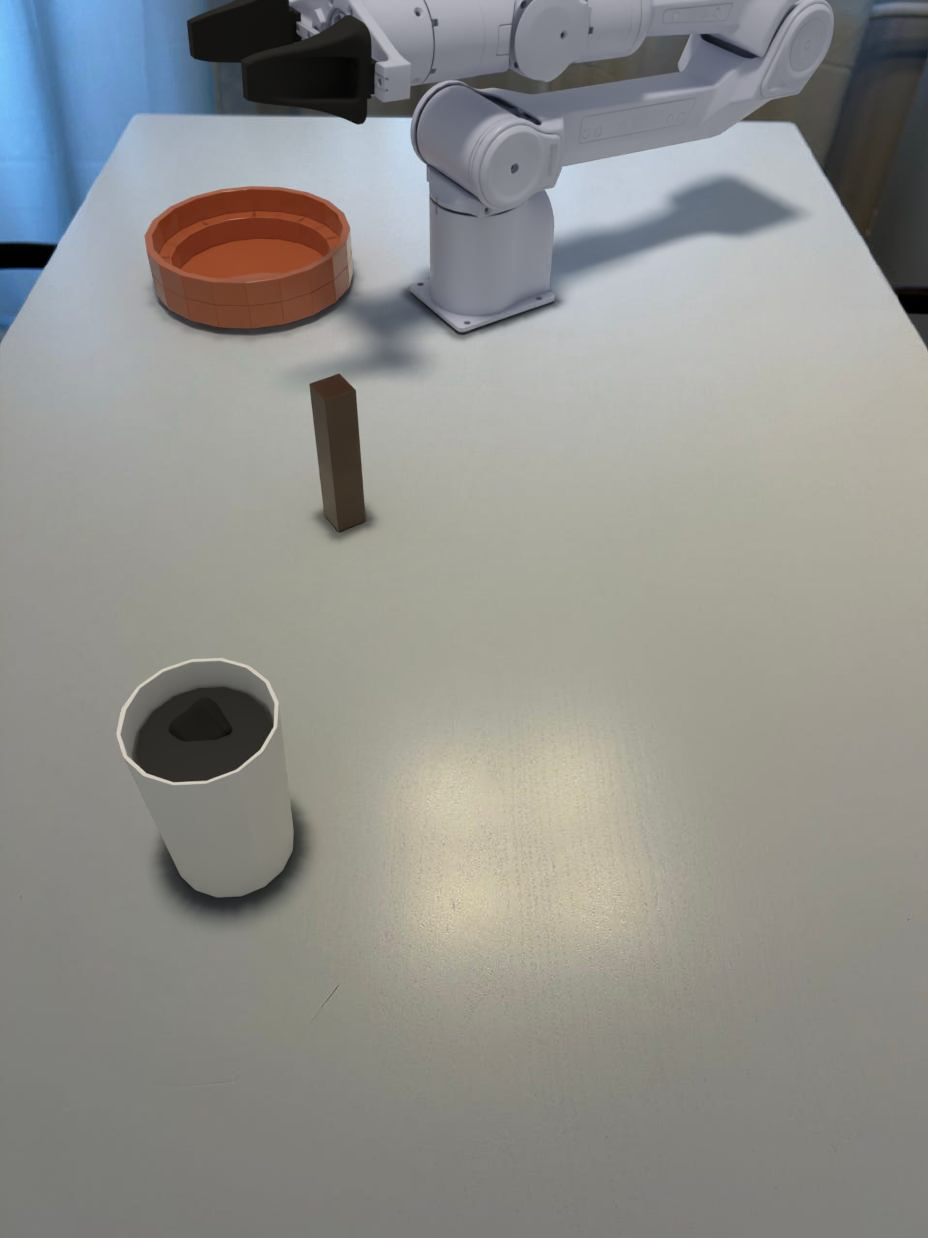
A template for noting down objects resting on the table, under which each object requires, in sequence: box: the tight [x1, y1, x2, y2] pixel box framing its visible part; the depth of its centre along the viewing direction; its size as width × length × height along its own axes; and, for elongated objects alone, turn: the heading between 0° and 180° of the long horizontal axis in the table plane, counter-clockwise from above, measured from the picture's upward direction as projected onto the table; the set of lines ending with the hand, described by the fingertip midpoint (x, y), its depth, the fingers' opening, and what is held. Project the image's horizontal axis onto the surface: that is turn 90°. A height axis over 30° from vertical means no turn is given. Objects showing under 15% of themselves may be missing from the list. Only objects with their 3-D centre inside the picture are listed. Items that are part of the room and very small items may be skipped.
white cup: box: [115, 657, 295, 899], centre depth 46 cm, size 7×7×10 cm
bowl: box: [144, 185, 354, 329], centre depth 85 cm, size 16×16×4 cm
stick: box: [308, 373, 367, 533], centre depth 63 cm, size 2×2×10 cm
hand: (216, 59), depth 62 cm, fingers open, 7 cm apart
